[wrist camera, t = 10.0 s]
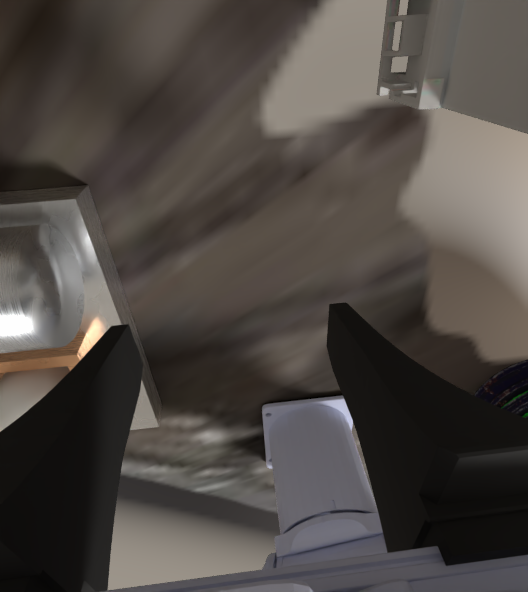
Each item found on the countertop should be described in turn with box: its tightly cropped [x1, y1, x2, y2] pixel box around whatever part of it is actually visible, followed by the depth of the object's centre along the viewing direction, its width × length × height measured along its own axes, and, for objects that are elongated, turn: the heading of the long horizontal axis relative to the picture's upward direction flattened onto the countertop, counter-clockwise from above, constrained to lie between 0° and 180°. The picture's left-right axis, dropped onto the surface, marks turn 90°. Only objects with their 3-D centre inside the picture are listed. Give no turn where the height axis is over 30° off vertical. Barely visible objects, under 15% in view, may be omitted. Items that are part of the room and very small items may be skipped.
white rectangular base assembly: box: [0, 185, 162, 430], centre depth 21 cm, size 18×12×8 cm, turn 3°
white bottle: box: [0, 366, 70, 432], centre depth 21 cm, size 4×4×7 cm
